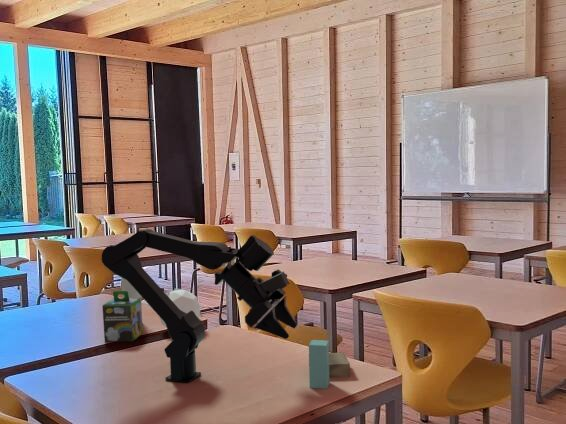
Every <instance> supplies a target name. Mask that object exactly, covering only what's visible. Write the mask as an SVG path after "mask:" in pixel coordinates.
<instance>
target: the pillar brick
mask: <svg viewBox="0 0 566 424" xmlns="http://www.w3.org/2000/svg"><path fill="white" fill-rule="evenodd" d="M329 341H330V340H322V339H321V340H320V339H319V340H318V339H311V341H310V342H309V344H308V369H309V370H308V372H309V373H308V375H309V379H308V380H309V388H310V389H324V390H325V389H326V390H327V389H328V388H329V384H330V377H329V353H330V350H329V349H330V345H329V343H330V342H329Z"/></svg>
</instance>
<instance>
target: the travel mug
mask: <svg viewBox="0 0 566 424" xmlns="http://www.w3.org/2000/svg"><path fill="white" fill-rule="evenodd" d="M120 282H121V283H120V284H121V291H127V292H128V295H129V298H141V299H142V296H141V295H140V294H139V293H138V292H137V291H136V290H135V289H134V287H133V286H132V285H131V284H130V283H129V282H128V281H127V280H126V279H124V278H122V277H120ZM124 297H125V296H124V295H123V294H121V298H124ZM142 306H143V304H142V302H141V313H142V314H143V308H142Z"/></svg>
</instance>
